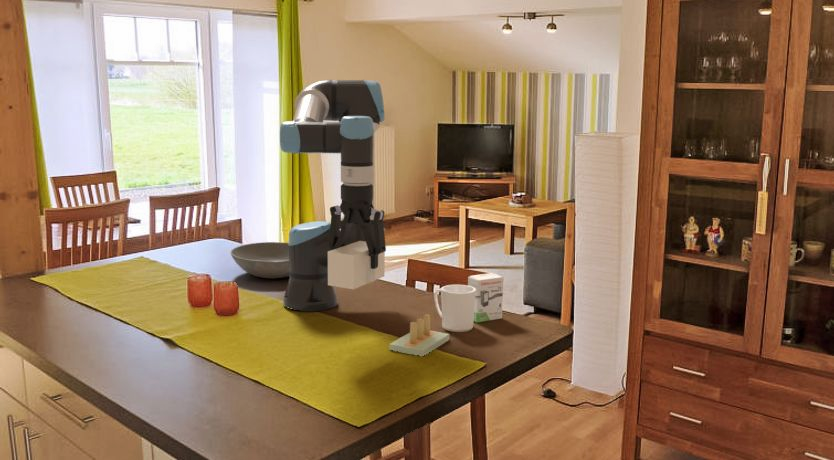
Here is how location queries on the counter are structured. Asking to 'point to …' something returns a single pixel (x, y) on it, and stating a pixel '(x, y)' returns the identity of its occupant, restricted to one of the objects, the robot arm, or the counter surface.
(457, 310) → the mug
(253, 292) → the counter surface
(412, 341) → the header block
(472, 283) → the ink box
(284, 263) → the bowl
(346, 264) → the white rectangular block
